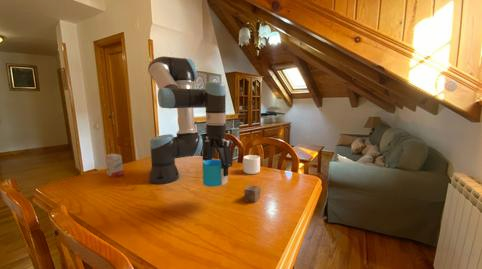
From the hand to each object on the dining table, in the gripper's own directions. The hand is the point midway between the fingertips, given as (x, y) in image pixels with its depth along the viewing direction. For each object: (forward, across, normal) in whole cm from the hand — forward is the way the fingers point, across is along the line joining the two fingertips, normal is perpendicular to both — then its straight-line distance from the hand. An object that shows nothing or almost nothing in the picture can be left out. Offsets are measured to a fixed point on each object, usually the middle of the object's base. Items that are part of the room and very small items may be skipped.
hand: (217, 180), depth 83 cm
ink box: (+11, -68, -18) cm, 72 cm away
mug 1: (+1, 0, 0) cm, 1 cm away
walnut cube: (+9, +8, +12) cm, 17 cm away
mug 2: (+10, -15, +39) cm, 43 cm away
